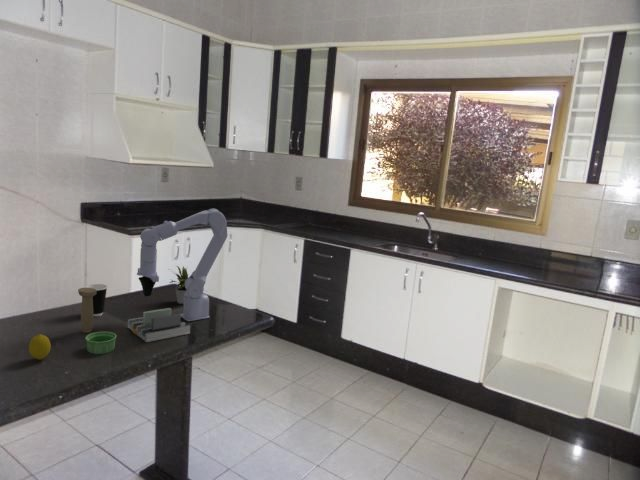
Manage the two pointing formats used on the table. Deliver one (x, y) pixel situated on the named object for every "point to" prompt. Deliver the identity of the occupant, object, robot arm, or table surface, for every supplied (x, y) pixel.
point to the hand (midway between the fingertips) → (147, 295)
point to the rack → (159, 327)
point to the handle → (87, 308)
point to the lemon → (39, 346)
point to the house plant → (181, 285)
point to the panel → (155, 315)
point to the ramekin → (100, 342)
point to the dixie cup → (98, 298)
